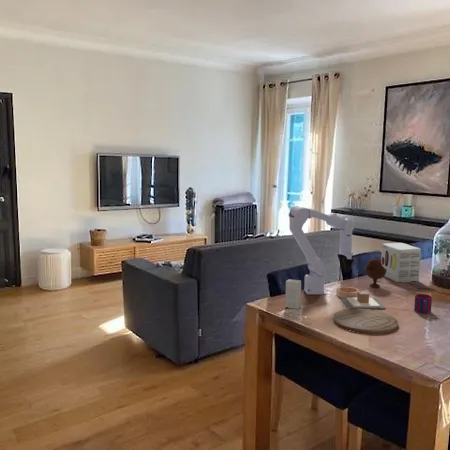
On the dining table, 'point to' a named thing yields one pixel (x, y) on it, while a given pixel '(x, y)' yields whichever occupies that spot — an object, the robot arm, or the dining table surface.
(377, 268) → the ice cream bowl
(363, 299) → the cover
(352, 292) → the bowl
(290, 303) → the skincare box
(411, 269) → the supplement box
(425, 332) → the dining table surface
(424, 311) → the mug
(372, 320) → the trivet
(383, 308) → the mat
